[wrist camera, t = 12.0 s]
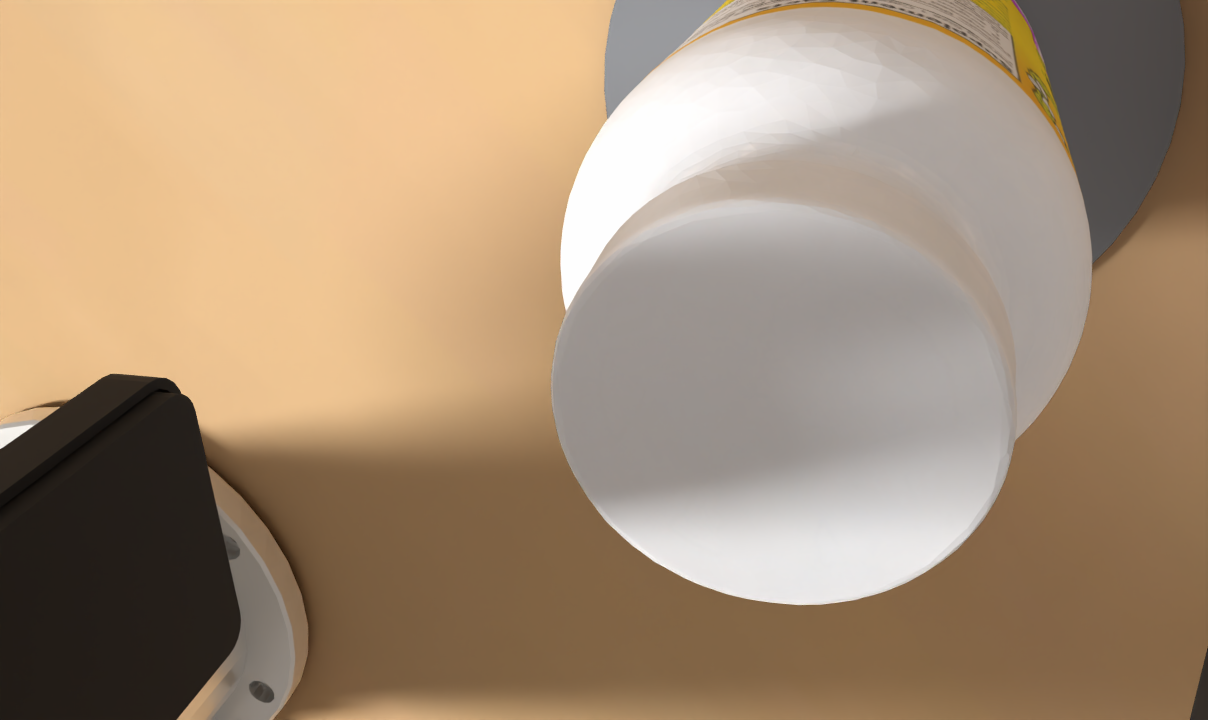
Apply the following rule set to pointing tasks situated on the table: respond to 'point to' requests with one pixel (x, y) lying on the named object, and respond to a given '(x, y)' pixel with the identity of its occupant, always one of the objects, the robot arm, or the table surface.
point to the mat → (1075, 70)
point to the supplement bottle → (819, 292)
